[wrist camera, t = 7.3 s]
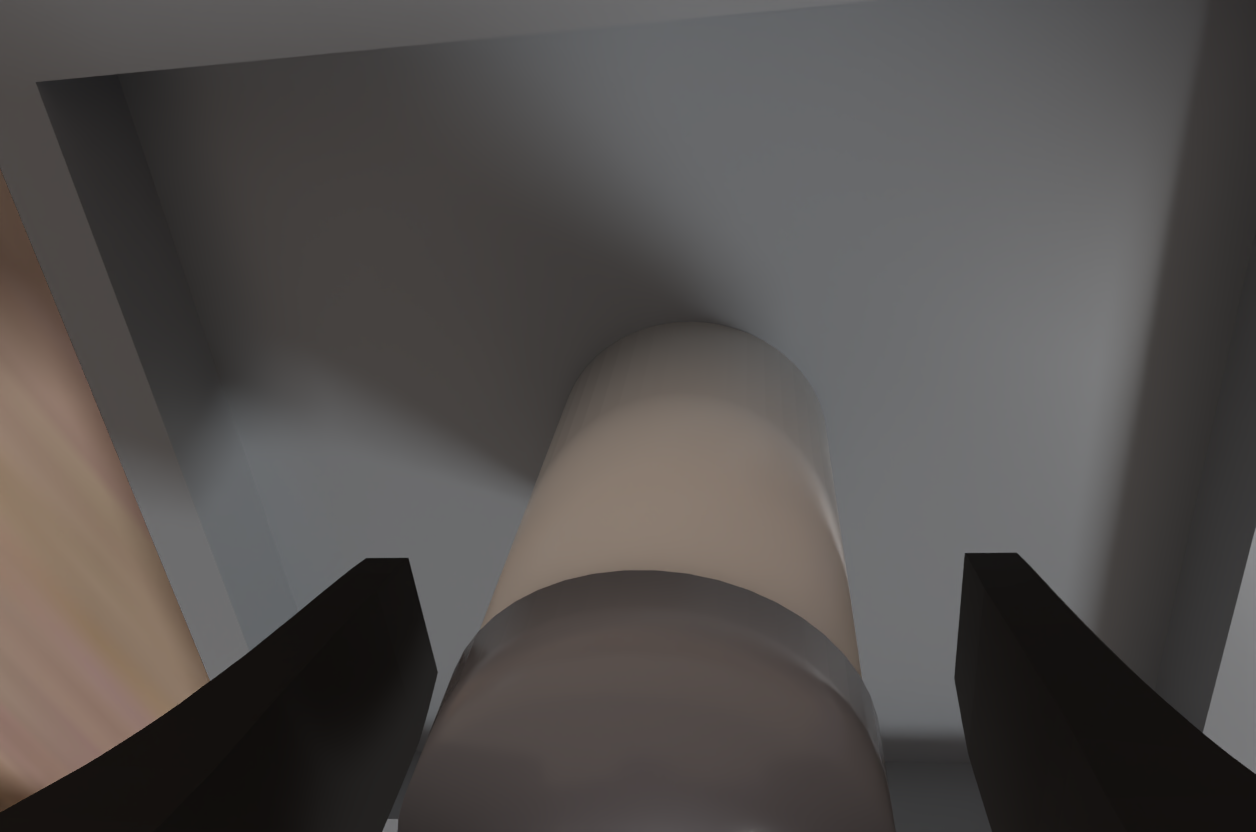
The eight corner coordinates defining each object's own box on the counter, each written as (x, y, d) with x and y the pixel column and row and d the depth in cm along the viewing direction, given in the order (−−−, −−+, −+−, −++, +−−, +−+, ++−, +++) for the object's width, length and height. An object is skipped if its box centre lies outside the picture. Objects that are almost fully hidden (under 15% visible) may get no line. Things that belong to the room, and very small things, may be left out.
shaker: (844, 318, 14) (935, 713, 7) (822, 562, 16) (875, 1049, 9) (546, 313, 15) (359, 675, 8) (564, 550, 17) (430, 1002, 10)
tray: (1393, -160, 11) (1548, -175, 9) (1169, 771, 19) (1224, 884, 17) (62, -9, 14) (-66, 6, 12) (326, 752, 21) (278, 847, 19)
